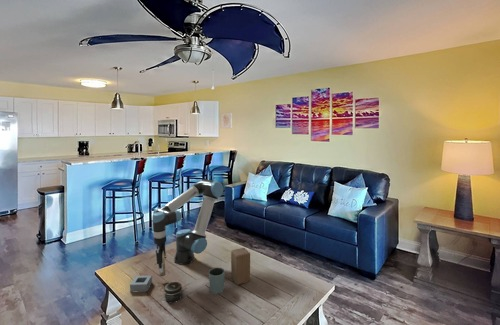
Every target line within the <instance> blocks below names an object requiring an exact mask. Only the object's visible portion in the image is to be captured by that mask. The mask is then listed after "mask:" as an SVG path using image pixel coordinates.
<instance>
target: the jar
mask: <svg viewBox="0 0 500 325" xmlns="http://www.w3.org/2000/svg"><path fill="white" fill-rule="evenodd" d="M163 292H164V299H165V301H166V302H167V303H169V302H174V303H176V301H177V302H179V301H180V300H181V298H182V295H183V287H182V284H181V282H179V281H172V282H169V283H167V284H166V285H165V286H164V291H163ZM178 300H179V301H178Z"/></svg>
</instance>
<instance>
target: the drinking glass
mask: <svg viewBox="0 0 500 325" xmlns="http://www.w3.org/2000/svg"><path fill="white" fill-rule="evenodd" d="M225 273H226V271H225V269H224V268H223V267H212V268H210V269H209V270H208V279H209V290H210V292H211V293H213V294H221V293H222V292H223V291H224V289H225V275H226V274H225Z"/></svg>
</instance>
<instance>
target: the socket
mask: <svg viewBox="0 0 500 325" xmlns="http://www.w3.org/2000/svg"><path fill="white" fill-rule="evenodd" d="M152 278H153V277H152V275H135V277H134V278H133V280H132V281H131V283H129V291H130V293H134V292H133V291H147V290H148V291H149V289H150V287H151V286H152V284H153V279H152ZM151 283H152V284H151ZM149 286H150V287H149ZM148 288H149V289H148ZM148 291H147V292H148Z"/></svg>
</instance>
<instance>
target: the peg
mask: <svg viewBox="0 0 500 325" xmlns="http://www.w3.org/2000/svg"><path fill="white" fill-rule="evenodd" d="M165 257H166V256H165ZM165 257H164V251H163V252H162V262H163V272H162V273H159V272H158V276H160V277H164V276H166V258H165Z"/></svg>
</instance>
